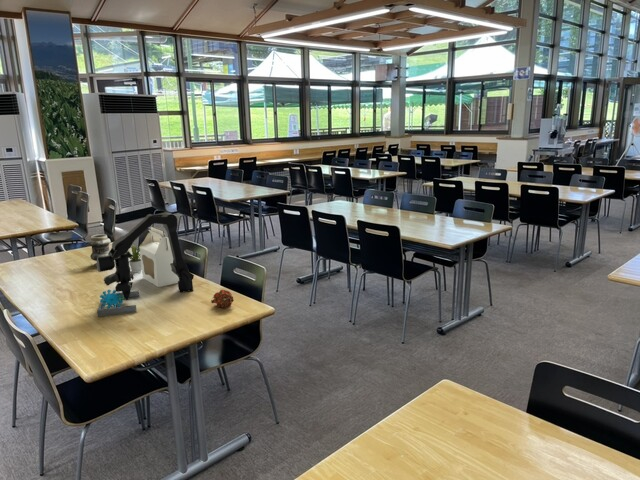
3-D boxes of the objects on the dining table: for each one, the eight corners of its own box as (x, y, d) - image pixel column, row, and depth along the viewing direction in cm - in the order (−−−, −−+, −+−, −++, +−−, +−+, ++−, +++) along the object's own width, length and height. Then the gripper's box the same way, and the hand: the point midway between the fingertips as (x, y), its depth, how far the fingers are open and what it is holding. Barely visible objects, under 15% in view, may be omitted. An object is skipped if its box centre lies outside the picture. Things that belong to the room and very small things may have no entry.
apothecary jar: (107, 267, 274) (104, 237, 270) (87, 267, 275) (83, 238, 270) (116, 261, 286) (113, 233, 282) (97, 261, 286) (93, 233, 282)
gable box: (142, 277, 254) (136, 227, 247) (165, 272, 262) (161, 224, 255) (158, 287, 237) (153, 234, 231) (183, 281, 245) (178, 230, 239)
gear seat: (139, 296, 225) (138, 290, 224) (136, 312, 205) (135, 305, 204) (104, 300, 220) (103, 294, 220) (97, 317, 201) (96, 310, 200)
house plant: (157, 269, 268) (154, 242, 264) (136, 275, 257) (133, 247, 253) (141, 266, 276) (138, 239, 272) (120, 272, 264) (117, 244, 260)
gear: (103, 309, 205) (97, 290, 209) (99, 315, 208) (94, 296, 212) (128, 305, 212) (122, 287, 216) (124, 312, 216) (119, 293, 220)
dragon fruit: (230, 314, 205) (215, 311, 214) (241, 298, 209) (226, 296, 218) (218, 302, 201) (204, 299, 209) (230, 286, 205) (215, 284, 213)
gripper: (106, 263, 218) (110, 295, 222) (100, 275, 201) (105, 309, 204) (131, 261, 221) (135, 292, 225) (128, 272, 204) (132, 305, 208)
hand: (127, 299), depth 215 cm, fingers closed, pressing on gear
